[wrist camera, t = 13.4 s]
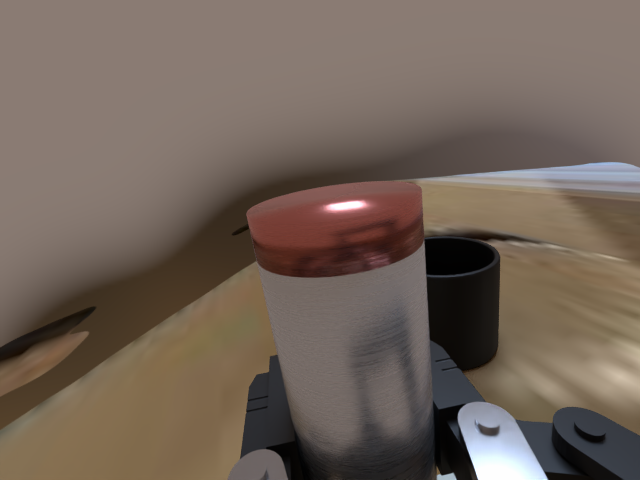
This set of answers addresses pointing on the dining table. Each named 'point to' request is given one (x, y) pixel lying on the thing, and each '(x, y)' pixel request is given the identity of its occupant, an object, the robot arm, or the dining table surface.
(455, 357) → the mug
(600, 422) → the robot arm
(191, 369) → the dining table surface
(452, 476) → the tray
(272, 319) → the cylinder
